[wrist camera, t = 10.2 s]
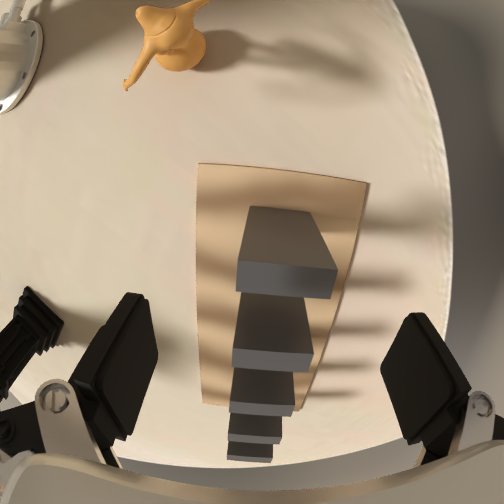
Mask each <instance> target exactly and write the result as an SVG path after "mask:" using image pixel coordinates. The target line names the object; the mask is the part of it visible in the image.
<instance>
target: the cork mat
mask: <svg viewBox="0 0 504 504" xmlns="http://www.w3.org/2000/svg"><path fill="white" fill-rule="evenodd" d="M366 186H367V183H365V182H359V181H354V180H348V179H342V178H336V177H330V176H323V175H316V174H309V173H302V172H294V171H286V170H277V169H268V168H258V167H246V166H234V165H219V164H201V163H199V164H198V175H197V205H196V293H197V323H198V344H199V361H200V376H201V389H202V401H203V403H204V404H211V405H218V406H226V407H229V402H230V394H231V387H232V379H233V372H234V367H231V365H232V348H233V342H234V335H235V329H236V322H237V316H238V309H239V303H240V296H241V292H236V276H237V260H238V256H239V251H240V247H241V242H242V238H243V233H244V229H245V224H246V220H247V216H248V211H249V207H250V206H259V207H269V208H278V209H288V210H297V211H305V212H310V213H311V215H312V217H313V219H314V221H315V223H316V225H317V227H318V229H319V231H320V233H321V235H322V237H323V239H324V241H325V243H326V245H327V247H328V249H329V251H330V253H331V256H332V258H333V260H334V262H335V264H336V266H337V268H338V272H337V276H336V280H335V284H334V288H333V292H332V295H331V299H316V298H304V300H305V306H306V311H307V316H308V322H309V327H310V333H311V339H312V344H313V350H314V356H313V359H312V362H311V365H310V367H309V370H308V372H293V379H294V393H295V407H294V410H293V411H299V410H300V408H301V405H302V403H303V401H304V398H305V396H306V393H307V391H308V388H309V386H310V383H311V381H312V378H313V376H314V373H315V370H316V368H317V365H318V362H319V360H320V357H321V354H322V351H323V349H324V346H325V343H326V340H327V337H328V334H329V331H330V328H331V325H332V322H333V319H334V316H335V312H336V309H337V306H338V303H339V299H340V296H341V293H342V289H343V286H344V282H345V278H346V275H347V271H348V267H349V263H350V260H351V256H352V252H353V248H354V243H355V239H356V235H357V231H358V226H359V221H360V217H361V212H362V207H363V202H364V197H365V192H366Z"/></svg>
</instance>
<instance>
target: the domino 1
mask: <svg viewBox="0 0 504 504" xmlns="http://www.w3.org/2000/svg"><path fill="white" fill-rule="evenodd" d="M337 272H338V268H337V266H336V264H335V262H334V260H333V258H332V256H331V253H330V251H329V249H328V247H327V245H326V243H325V241H324V239H323V237H322V235H321V233H320V231H319V229H318V227H317V225H316V223H315V221H314V219H313V217H312V215H311V213H310V212H305V211H297V210H288V209H278V208H269V207H259V206H250V207H249V211H248V216H247V220H246V224H245V229H244V233H243V238H242V242H241V247H240V251H239V256H238V260H237V276H236V292H246V293H256V294H267V295H278V296H290V297H302V298H316V299H331V295H332V292H333V288H334V284H335V280H336V276H337Z"/></svg>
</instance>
